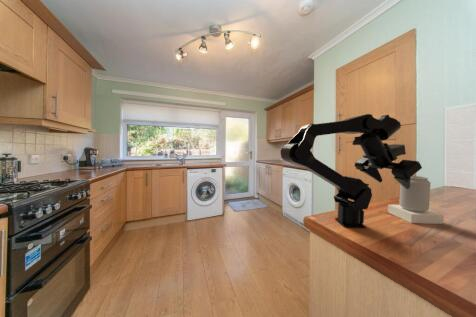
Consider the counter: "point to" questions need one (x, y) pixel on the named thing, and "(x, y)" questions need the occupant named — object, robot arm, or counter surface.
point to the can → (416, 195)
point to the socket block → (416, 215)
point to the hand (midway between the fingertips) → (393, 184)
